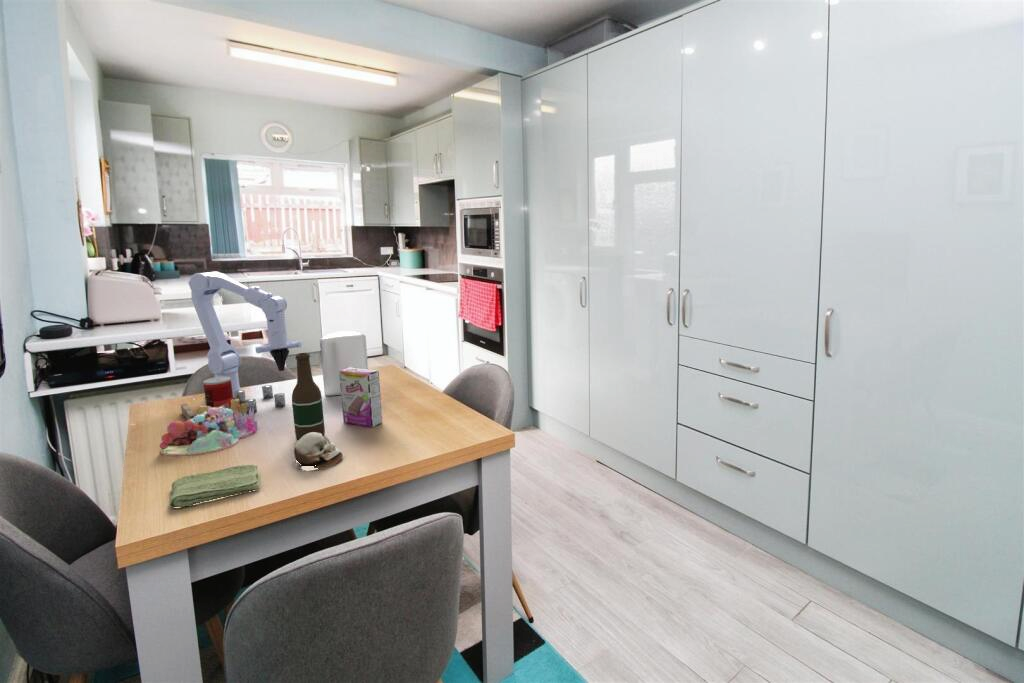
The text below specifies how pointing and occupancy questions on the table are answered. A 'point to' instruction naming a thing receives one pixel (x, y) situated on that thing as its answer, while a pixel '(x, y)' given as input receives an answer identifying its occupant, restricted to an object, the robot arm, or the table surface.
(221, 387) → the canned food
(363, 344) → the white tall block
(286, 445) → the table surface
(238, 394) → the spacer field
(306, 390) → the beer bottle
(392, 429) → the table surface
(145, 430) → the table surface
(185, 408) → the stop batten
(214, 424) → the candy landscape model
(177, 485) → the washcloth
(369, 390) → the candy bar box
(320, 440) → the skull
